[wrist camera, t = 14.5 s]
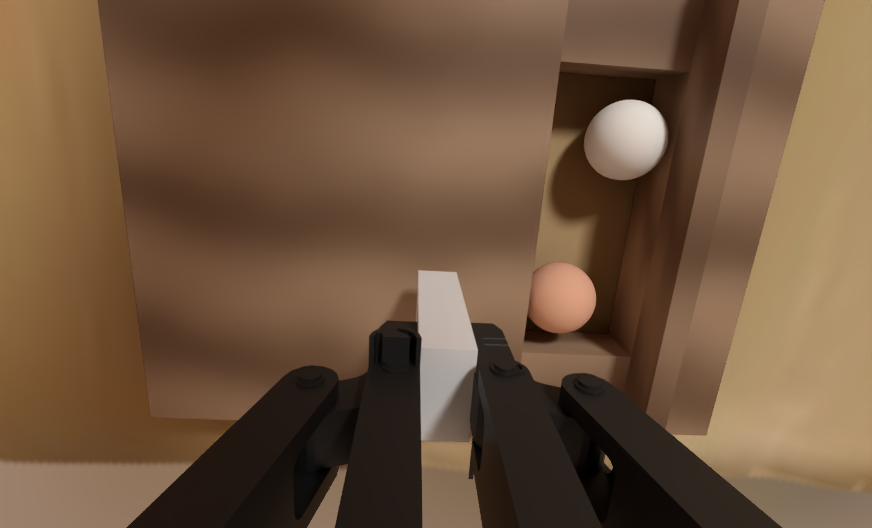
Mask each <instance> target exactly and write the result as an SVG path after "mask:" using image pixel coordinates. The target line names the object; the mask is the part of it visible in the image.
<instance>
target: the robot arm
mask: <svg viewBox="0 0 872 528" xmlns="http://www.w3.org/2000/svg"><path fill="white" fill-rule="evenodd" d="M470 428H471V430H472V436H473V439H472V449H471V459H470V469H469V479H473V475H474V476H475V483H476V489H477V495H478V501H479V508H480V514H481V520H482V526H483V528H782V527H781V526H779V525H778V524H777V523H776V522H775V521H774V520H772V519H771V518H770V517H769V516H768V515H766V514H765V513H764V512H763V511H762V510H760V509H759V508H758V507H757V506H756V505H755V504H753V503H752V502H751V501H750V500H748V499H747V498H746V497H745V496H744V495H743V494H741V493H740V492H739V491H738V490H736V489H735V488H734V487H733V486H732V485H731V484H730V483H728V482H727V481H726V480H725V479H724V478H722V477H721V476H720V475H719V474H718V473H716V472H715V471H714V470H713V469H712V468H711V467H709V466H708V465H707V464H706V463H705V462H703V461H702V460H701V459H700V458H699V457H697V456H696V455H695V454H694V453H693V452H692V451H690V450H689V449H688V448H687V447H686V446H684V445H683V444H682V443H681V442H680V441H678V440H677V439H676V438H675V437H674V436H672V435H671V434H670V433H669V432H668V431H667V430H665V429H664V428H663V427H662V426H661V425H659V424H658V423H657V422H656V421H655V420H653V419H652V418H651V417H650V416H649V415H648V414H646V413H645V412H644V411H643V410H642V409H640V408H639V407H638V406H637V405H636V404H634V403H633V402H632V401H631V400H630V399H629V398H627V397H626V396H625V395H624V394H623V393H621V392H620V391H619V390H618V389H617V388H615V387H614V386H613V385H612V384H610V383H609V382H607V381H606V380H604V379H602V378H599V377H597V376H595V375H592V374H588V373H573V374H569V375H566V376H565V377H564V378H562V383H561V387H556V386H552V385H547V384H543V383H539V382H537V381H534V379H533V377H532V375H531V373H530V371H529V370H528V368H527V367H526V366H525V365H523V364H521V363H520V362H518V361H515V359H514V357H513V354H512V352H511V350H510V347H509V346H508V343H507V340H506V339H505V336H504V333H503V331H502V330H501V329H500V328H498V327H497V326H496V325H495V324H492V323H470V319H469V316H468V312H467V309H466V305H465V301H464V298H463V294H462V290H461V287H460V283H459V279H458V276H457V272H443V271H421V270H418V288H417V308H416V322H413V321H388V320H387V321H386V322H385V323H384V324H383V325H381V326H380V328H379V329H377V330H375V331H373V332H372V333H371V334H370V336H369V366H368V371H367V372H366V373H364V374H363V375H360V376H358V377H355V378H351V379H346V380H339V378H338V375H337V373H336V372H335V371H333V370H332V369H331V368H327V367H324V366H315V365H309V366H303V367H300V368H297V369H294V370H292V371H290V372H289V373H287V374H286V375H284V376H283V377H282V378H281V379H280V380H279V381H278V382H277V383H276V384H275V385H274V386H273V387H272V388H271V389H270V390H269V391H268V392H267V393H266V394H265V395H264V396H263V397H262V398H261V399H260V400H259V401H257V402H256V403H255V404H254V405H253V406H252V407H251V408H250V409H249V410H248V411H247V412H246V413H245V414H244V415H243V416H242V417H241V418H240V419H239V420H238V421H237V422H236V423H235V424H234V425H233V426H232V427H230V428H229V429H228V430H227V431H226V432H225V433H224V434H223V435H222V436H221V437H220V438H219V439H218V440H217V441H216V442H215V443H214V444H213V445H212V446H211V447H210V448H209V449H208V450H207V451H206V452H205V453H204V454H202V455H201V456H200V457H199V458H198V459H197V460H196V461H195V462H194V463H193V464H192V465H191V466H190V467H189V468H188V469H187V470H186V471H185V472H184V473H183V474H182V475H181V476H180V477H179V478H178V479H177V480H176V481H174V483H172V484H171V485H170V486H169V487H168V488H167V489H166V490H165V491H164V492H163V493H162V494H161V495H160V496H159V497H158V498H157V499H156V500H155V501H154V502H153V503H152V504H151V505H150V506H149V507H147V508H146V510H145V511H143V512H142V513H141V514H140V515H139V516H138V517H137V518H136V519H135V520H134V521H133V522H132V523H131V524H130V525H129V526H128V527H127V528H307V527H308V525H309V523H310V521H311V520H312V518H313V516H314V514H315V512H316V511H317V509H318V507H319V506H320V504H321V502H322V500H323V499H324V497H325V495H326V493H327V492H328V490H329V488H330V486H331V485H332V483H333V481H334V479H335V477H336V476H337V472H338V469H339V466H340V465H344V464H348V467H347V472H346V477H345V482H344V486H343V491H342V496H341V501H340V506H339V511H338V515H337V520H336V525H335V528H422V468H421V441H456V442H469V439H470ZM605 454H606V455H607V457H608V458H609V459H610V461H611V463H612V466H613V469H612V471H611V470H610V469H609V468H608V467H607V466H606V465H605V463H604V459H605Z"/></svg>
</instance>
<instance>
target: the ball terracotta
mask: <svg viewBox="0 0 872 528" xmlns="http://www.w3.org/2000/svg"><path fill="white" fill-rule="evenodd" d="M595 305H596V292H595V289H594V285H593V283H592V281H591V280H590V278H589V277H588V276H587V275H586V274H585V273H584V272H583V271H582V270H581V269H579V268H578V267H576V266H573V265H571V264H567V263H559V262H558V263H550V264H547V265H544V266H542V267H540V268H538V269H537V270H536V271H535V272H533V275H532V283H531V290H530V298H529V305H528V313H527V314H528V316H529V318H530V319H531V320H532V321H533V322H534V323H535V324H536V325H537V326H539V327H540V328H542V329H544V330H546V331H549V332H553V333H568V332H572V331H574V330H577V329H579V328H580V327H582V326H583V325H584V324H585V323H586V322H587V321H588V320H589V319H590V317H591V316H592V314H593V312H594V309H595Z"/></svg>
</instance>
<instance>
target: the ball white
mask: <svg viewBox="0 0 872 528" xmlns="http://www.w3.org/2000/svg"><path fill="white" fill-rule="evenodd" d="M667 145H668V127H667V124H666V121H665V119H664V117H663V116H662V114H661V113H660V112H659V111H658V110H657V109H656V108H655V107H653V106H652V105H650V104H648V103H646V102H643V101H639V100H622V101H618V102H615V103H612V104H610V105H608V106H607V107H605V108H604V109H602V110H601V111H600V112H599V113H598V114H596V116H595V117H594V118H593V119H592V121H591V122H590V124H589V126H588V128H587V131H586V134H585V138H584V149H585V154H586V157H587V159H588V162H589V163H590V165H591V166H592V167H593V168H594V169H595V170H596V171H597V172H598V173H599V174H601V175H603V176H605V177H607V178H610V179H615V180H630V179H634V178H637V177H640V176H642V175H644V174H646V173H647V172H649V171H650V170H652V169H653V168H654V167H655V166H656V165H657V164H658V163H659V161H660V160H661V158H662V157H663V155H664V153H665V151H666V148H667Z"/></svg>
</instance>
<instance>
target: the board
mask: <svg viewBox="0 0 872 528" xmlns="http://www.w3.org/2000/svg"><path fill="white" fill-rule="evenodd" d="M824 2H825V0H98V7H99V15H100V23H101V31H102V39H103V46H104V54H105V62H106V70H107V78H108V86H109V94H110V102H111V109H112V117H113V125H114V133H115V141H116V149H117V157H118V164H119V172H120V180H121V188H122V196H123V204H124V212H125V220H126V227H127V235H128V243H129V251H130V259H131V267H132V275H133V283H134V290H135V298H136V306H137V314H138V322H139V330H140V338H141V346H142V353H143V361H144V369H145V377H146V385H147V393H148V401H149V409H150V416H151V418H178V419H209V420H239V419H240V418H241V417H242V416H243V415H244V414H245V413H246V412H247V411H248V410H249V409H250V408H251V407H252V406H253V405H254V404H255V403H256V402H257V401H259V400H260V399H261V398H262V397H263V396H264V395H265V394H266V393H267V392H268V391H269V390H270V389H271V388H272V387H273V386H274V385H275V384H276V383H277V382H278V381H279V380H280V379H281V378H282V377H283V376H284V375H286V374H287V373H289V372H290V371H292V370H294V369H297V368H300V367H303V366H309V365H315V366H324V367H327V368H331V369H332V370H333V371H335V372H336V373H337V375H338V378H339V380H346V379H351V378H355V377H358V376H360V375H363V374H364V373H366V372H367V371H368V366H369V336H370V334H371V333H372V332H373V331H375V330H377V329H379V328H380V326H381V325H383V324H384V323H385V322H386V321H387V320H388V321H413V322H416V308H417V288H418V270H421V271H443V272H457V276H458V279H459V283H460V287H461V290H462V294H463V298H464V301H465V305H466V309H467V312H468V316H469V319H470V323H492V324H495V325H496V326H497V327H498V328H500V329H501V330H502V331H503V333H504V336H505V339H506V340H507V343H508V346H509V347H510V350H511V352H512V354H513V357H514V359H515V361H518V362H520V363H521V364H523V365H525V366H526V367H527V368H528V370H529V371H530V373H531V375H532V377H533V379H534V381H537V382H539V383H543V384H547V385H552V386H556V387H561V383H562V378H564V377H565V376H566V375H569V374H573V373H588V374H592V375H595V376H597V377H599V378H602V379H604V380H606V381H607V382H609V383H610V384H612V385H613V386H614V387H615V388H617V389H618V390H619V391H620V392H621V393H623V394H624V395H625V396H626V397H627V398H629V399H630V400H631V401H632V402H633V403H634V404H636V405H637V406H638V407H639V408H640V409H642V410H643V411H644V412H645V413H646V414H648V415H649V416H650V417H651V418H652V419H653V420H655V421H656V422H657V423H658V424H659V425H661V426H662V427H663V428H664V429H665V430H667V431H668V432H669V433H670V434H675V435H706V434H707V430H708V427H709V423H710V419H711V416H712V412H713V408H714V405H715V401H716V397H717V394H718V390H719V386H720V383H721V379H722V375H723V372H724V368H725V364H726V361H727V357H728V353H729V350H730V346H731V342H732V339H733V335H734V332H735V328H736V324H737V321H738V317H739V313H740V310H741V306H742V302H743V299H744V295H745V291H746V288H747V284H748V280H749V277H750V273H751V269H752V266H753V262H754V258H755V255H756V251H757V247H758V244H759V240H760V236H761V233H762V229H763V225H764V222H765V218H766V214H767V211H768V207H769V203H770V200H771V196H772V192H773V189H774V185H775V181H776V178H777V174H778V170H779V167H780V163H781V159H782V156H783V152H784V148H785V145H786V141H787V137H788V134H789V130H790V126H791V123H792V119H793V115H794V112H795V108H796V104H797V101H798V97H799V93H800V90H801V86H802V82H803V79H804V75H805V71H806V68H807V64H808V60H809V57H810V53H811V49H812V46H813V42H814V38H815V35H816V31H817V27H818V24H819V20H820V16H821V13H822V9H823V5H824ZM559 72H566V73H578V74H591V75H604V76H617V77H629V78H642V79H655V80H656V83H655V89H654V94H653V99H652V106H653V107H655V108H656V109H657V110H658V111H659V112H660V113H661V114H662V116H663V117H664V119H665V121H666V124H667V127H668V145H667V148H666V151H665V153H664V155H663V157H662V158H661V160H660V161H659V163H658V164H657V165H656V166H655V167H654V168H653V169H652V170H650V171H649V172H647V173H646V174H644V175H642V176H640V177H638V179H637V184H636V190H635V195H634V200H633V205H632V211H631V216H630V221H629V227H628V232H627V237H626V243H625V248H624V253H623V259H622V264H621V269H620V275H619V280H618V285H617V290H616V296H615V301H614V306H613V312H612V317H611V322H610V328H609V333H586V332H568V333H553V332H549V331H541V330H525V328H526V321H527V313H528V305H529V298H530V290H531V283H532V275H533V268H534V260H535V252H536V245H537V237H538V230H539V222H540V215H541V207H542V199H543V192H544V184H545V177H546V169H547V162H548V154H549V146H550V139H551V131H552V124H553V116H554V109H555V101H556V93H557V86H558V78H559Z"/></svg>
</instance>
